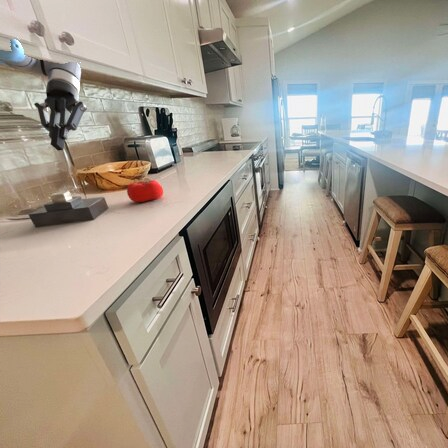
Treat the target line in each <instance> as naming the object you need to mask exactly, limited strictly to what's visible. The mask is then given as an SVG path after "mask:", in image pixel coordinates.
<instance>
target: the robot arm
mask: <svg viewBox="0 0 448 448" xmlns="http://www.w3.org/2000/svg"><path fill="white" fill-rule="evenodd" d="M10 41H11V42H10V43H11V46H10V47H11V50H12V51H4V50H0V65H1V66H5V67H9V68H11V69H13V70H21V71H25V72H29V73H33V74H38V75H40V76H41V75H42V76H45V77H47V80H46V88H45V94H46V98H44V102H42V103H39V102H35V103H33V105H34V106H35V107H36V109H37V111H38V115H39V120H40V125H41V126H42V127H43V128H44V129H45V130H46V131H47V132H48V138H49V139H50V146H52V148H54V149H55V150H56V151H64V150H65V149H64V148H65V140H66V141H67V140H68V138H69V137H68V136H69V132H70V131H76V130H77V129H78V127H79V124H80V122H81V120H82V117H83V115H84V113H85V112H86V111H88V107H87V106H86V105H85V103H84V102H83V101H81V100H79V99H80V88H81V87H80V84H81V76H82V67H81V68H80V65H79V64H78V63H74V62H68V63H65V64H59V63H53V62H48V61H43V60H38V59H34V58H31V57H28V56H26V55H24V49H23V47H22V45H21V43H20V42H19V41H18V40H16V39H11V40H10ZM48 109H49V110H50V113H49V110H48Z"/></svg>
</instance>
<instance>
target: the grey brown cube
mask: <svg viewBox="0 0 448 448" xmlns="http://www.w3.org/2000/svg"><path fill="white" fill-rule="evenodd" d="M72 197H73V196H72V193H71V192H70V191H60V192H59V191H58V192H55V193H52V194H49V198H50V200H51V201H52V202H53V203H57V202H66V201H69V200H71V199H73V198H72Z"/></svg>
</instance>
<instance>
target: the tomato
mask: <svg viewBox="0 0 448 448" xmlns="http://www.w3.org/2000/svg"><path fill="white" fill-rule="evenodd" d="M126 193H127V197H128V198H129V199H130V200H131V201H132V202H136V203H145V202H148V201H155V200H157V199H160V198H161V197H163V195H164V188H163V186H162V185H161V184H160V183H159V181H157V180H155V179H151V180H146V181H145V180H141V181H137V182H132V183H131V182H130V183H129V184H128V185H127V189H126Z"/></svg>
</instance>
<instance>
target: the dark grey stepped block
mask: <svg viewBox="0 0 448 448" xmlns="http://www.w3.org/2000/svg"><path fill="white" fill-rule="evenodd" d="M72 198H73V199H71V200H69V201H66V202H57V203H53V202H52V200H51V201H49V202H47V203H45V204H43V206H42V207H40V208H39V209H36V210H35V211H32V212H30V213H28V217H29V219H30V221H31V222H32V224H33V227H34V228H35V229H36V228H43V227H51V226H58V225H66V224H73V223H80V222H81V223H82V222H88V221H94V220H96V219H97V218H98V217H99V216H101V215H102V214H103V213H105V212H106V211H107V210H108V209H109V205H108V203H107V200H106V197H105V196H97V197H90V198H82V196H81V195H79V196H78V195H77V196H72Z"/></svg>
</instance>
